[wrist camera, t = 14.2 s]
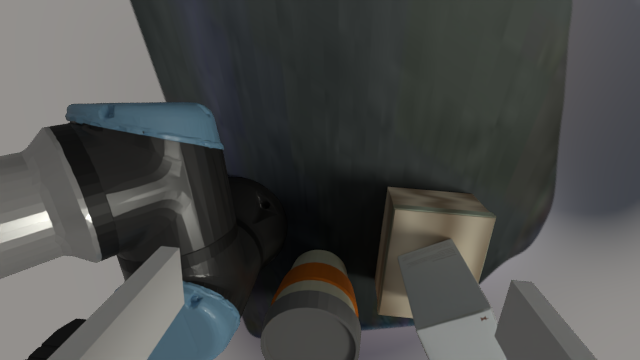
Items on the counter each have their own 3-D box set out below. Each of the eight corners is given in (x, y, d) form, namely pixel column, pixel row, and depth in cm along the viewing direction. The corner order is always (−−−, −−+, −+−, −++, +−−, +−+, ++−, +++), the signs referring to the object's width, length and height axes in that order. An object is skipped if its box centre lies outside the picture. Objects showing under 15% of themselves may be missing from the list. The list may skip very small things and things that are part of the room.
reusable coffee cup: (349, 233, 51) (350, 298, 37) (364, 299, 55) (370, 381, 41) (272, 246, 53) (245, 313, 39) (292, 309, 57) (274, 391, 43)
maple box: (373, 279, 54) (378, 315, 46) (386, 185, 48) (394, 208, 41) (450, 287, 53) (468, 324, 46) (473, 193, 48) (496, 217, 40)
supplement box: (395, 255, 43) (414, 329, 31) (452, 236, 41) (495, 306, 30) (414, 299, 45) (438, 385, 33) (469, 283, 44) (515, 366, 32)
